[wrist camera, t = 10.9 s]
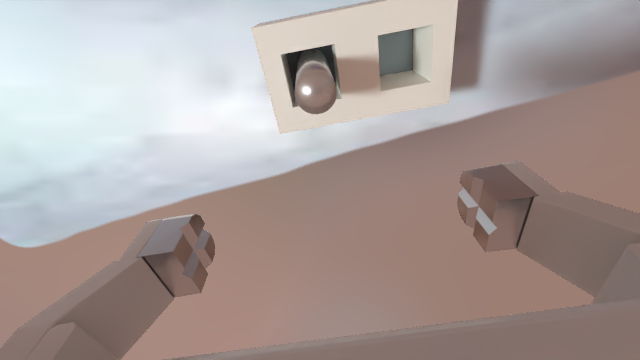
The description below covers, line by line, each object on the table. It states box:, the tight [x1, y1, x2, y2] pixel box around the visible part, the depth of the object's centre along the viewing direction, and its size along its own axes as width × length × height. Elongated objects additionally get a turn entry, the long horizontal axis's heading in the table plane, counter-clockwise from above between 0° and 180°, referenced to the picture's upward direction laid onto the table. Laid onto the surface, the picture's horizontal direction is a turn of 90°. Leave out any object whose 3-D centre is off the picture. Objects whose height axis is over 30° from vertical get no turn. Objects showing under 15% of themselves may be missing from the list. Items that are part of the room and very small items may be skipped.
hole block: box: [252, 0, 458, 134], centre depth 26 cm, size 16×9×5 cm, turn 100°
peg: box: [295, 49, 337, 114], centre depth 24 cm, size 3×3×10 cm
